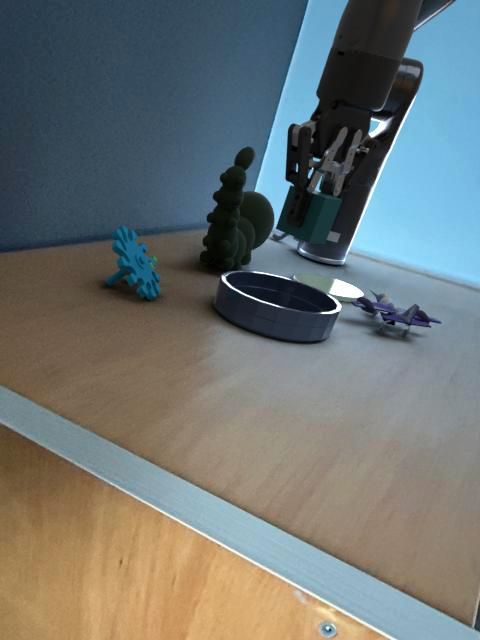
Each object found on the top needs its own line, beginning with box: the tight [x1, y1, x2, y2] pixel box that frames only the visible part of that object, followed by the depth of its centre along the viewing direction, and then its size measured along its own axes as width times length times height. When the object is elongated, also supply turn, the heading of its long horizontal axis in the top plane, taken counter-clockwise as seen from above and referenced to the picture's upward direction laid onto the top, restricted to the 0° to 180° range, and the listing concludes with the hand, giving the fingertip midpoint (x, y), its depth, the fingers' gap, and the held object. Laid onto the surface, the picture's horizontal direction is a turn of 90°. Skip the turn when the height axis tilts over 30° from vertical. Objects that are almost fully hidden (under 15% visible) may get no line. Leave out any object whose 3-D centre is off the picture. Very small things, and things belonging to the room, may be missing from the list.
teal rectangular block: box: [275, 184, 342, 244], centre depth 70 cm, size 6×3×5 cm, turn 29°
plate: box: [292, 272, 365, 303], centre depth 98 cm, size 12×12×1 cm
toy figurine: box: [198, 146, 275, 272], centre depth 94 cm, size 9×19×25 cm
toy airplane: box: [350, 289, 442, 338], centre depth 85 cm, size 13×14×4 cm
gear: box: [105, 224, 162, 301], centre depth 76 cm, size 11×6×10 cm
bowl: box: [213, 270, 343, 343], centre depth 77 cm, size 16×16×4 cm
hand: (303, 225), depth 71 cm, fingers closed on teal rectangular block, 3 cm apart
